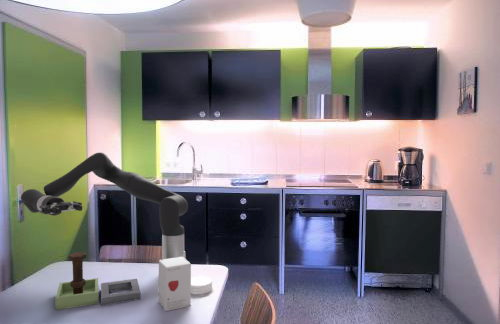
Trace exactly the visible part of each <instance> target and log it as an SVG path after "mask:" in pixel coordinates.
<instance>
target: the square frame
mask: <svg viewBox="0 0 500 324" xmlns="http://www.w3.org/2000/svg"><path fill="white" fill-rule="evenodd" d="M127 289H130V290H129V291H128V290H127ZM120 290H121V291H122V290H127V291H124V292H123V291H122V292H116V293H109V292H113V291H120ZM141 294H142V293H141V289H140V285H139V282H138V278H132V279H124V280H123V279H122V280H117V281H116V280H115V281H109V282H101V283H100V301H101V302H100V305H101V306H106V305H107V306H108V305H113V304H118V303H125V302H133V301H138V300H141V299H142V295H141Z"/></svg>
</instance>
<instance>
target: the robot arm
mask: <svg viewBox="0 0 500 324" xmlns="http://www.w3.org/2000/svg"><path fill="white" fill-rule="evenodd" d="M91 172H92V173H93V174H94V175H95V176H97V178H100V179H101V180H102V179H103V180H104V181H107V182H110V183H112V184H114V185H116V186H117V187H118V188H120V189H121V190H122V191H124V192H126V193H128V194H129V195H131V196H133V197H134V198H137V199H140V200H144V201H147V202H151V203H155V204H159V209H158V211H159V227H160V229H161V234H162V235H161V236H162V237H161V246H162V249H161V250H162V251H161V252H162V254H161V255H162V256H161V260H163V259H169V258H176V257H184V258H185V259H186V260H187V258H186V257H187V256H186V251H185V227H184V226H183V225H181V224H180V216H183V215H185V213H187V212H188V209H189V205H188V204H189V203H188V201H187V200H186V198H184V197H183V196H182V195H180V194H177V193H175V192H173V191H170V190H168V189H165V188H163V187H161V186H160V185H158V184H156V183H155V182H153V181H150V180H149V179H147V178H146V177H144V176H142V175H140V174H138V173H137V172H132V171H125V170H123V169H121V168H120V167H118V166H117V165H116V164H114V163H113V162H112V160H111V159H110V158H109V156H108V155H107V154H106V153H104V152H96V153H94V154H92V155H90V156H89V157H88V158H86V159H84V161H81V163H79V164H77V165H76V166H75V167H73V168H72V169H71V170H69V171H68V172H67V173H65V174H64V175H62V176H60V177H58V178H57V179H55V180H53V181H50V182H49V183H47V184H46V185H44V186H43V191H44V193H42V192H41V191H40V190H38V189H34V188H32V189H31V188H30V189H29V188H28V189H26V190H25V191H24V192H22V194H21V195H20V201H21V202H22V203H23V204H24V206H25V207H26V208H27V209H28V210H29V211H30V213H33V214H34V213H35V214H36V213H40V214H43V215H49V216H58V215H60V214H62V213H65V212H72V211H79V212H81V211H83V205H82V204H83V203H82V202H79V201H71V202H70V201H65V200H64V199H63V198H61V197H60V196H62V195H64V194H66V193H68V192H69V191H71V190H72V189H73V187H75V185H76V184H77V182H79V181H80V180H81V179H82V178H83V177H84V176H85V175H87V174H89V173H91Z"/></svg>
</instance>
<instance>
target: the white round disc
mask: <svg viewBox="0 0 500 324" xmlns="http://www.w3.org/2000/svg"><path fill="white" fill-rule="evenodd" d="M212 290H213V279H212V278H210V277H208V276H203V275H201V276H199V275H198V276H193V277H192V276H191V294H192V295H196V296H198V295H205V294H207V293H208V294H209V292H211V291H212Z"/></svg>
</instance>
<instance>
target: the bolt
mask: <svg viewBox="0 0 500 324" xmlns="http://www.w3.org/2000/svg"><path fill="white" fill-rule="evenodd" d="M67 257H68V260H69V261H71V262H72V280H71V281H69V282H70V286H71V287H72V288H73V294H81V293H83V286H84V285H85V284H86V281H85V280H86V279H85V278H84V277H83V275H84V272H83V271H84V270H83V269H84V268H83V267H84V266H83V264H84V263H83V262H84V259H87V253H86V252H81V251H79V252H73V253H70V254H69V255H68V256H67Z"/></svg>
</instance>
